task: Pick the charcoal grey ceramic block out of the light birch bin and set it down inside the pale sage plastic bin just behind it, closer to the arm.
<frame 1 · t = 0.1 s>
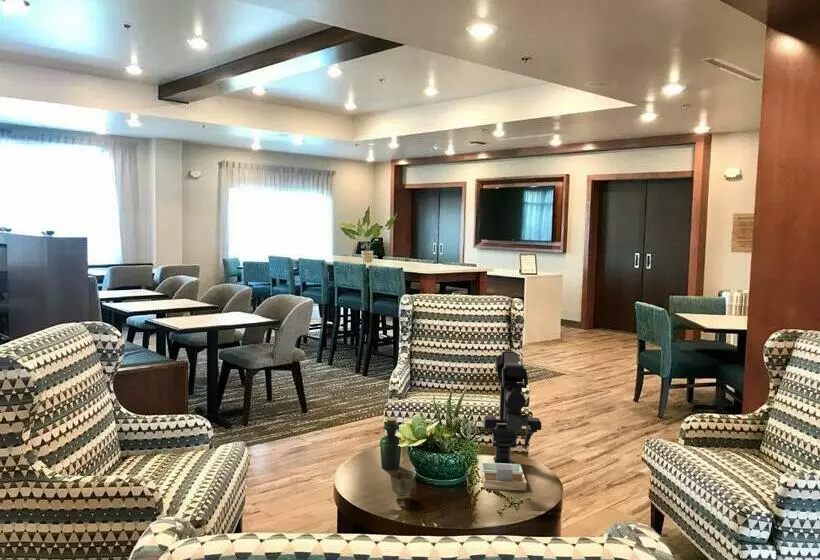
hand: (511, 448, 213), 14 cm above the table, tool pointing down, fingers open, 9 cm apart
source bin: (503, 487, 216), on the table
cup: (401, 499, 205), on the table
stone block: (503, 484, 216), point 1 cm above the table, touching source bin
beer can: (428, 466, 235), on the table
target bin: (501, 477, 226), on the table
potion bottle: (390, 467, 233), on the table
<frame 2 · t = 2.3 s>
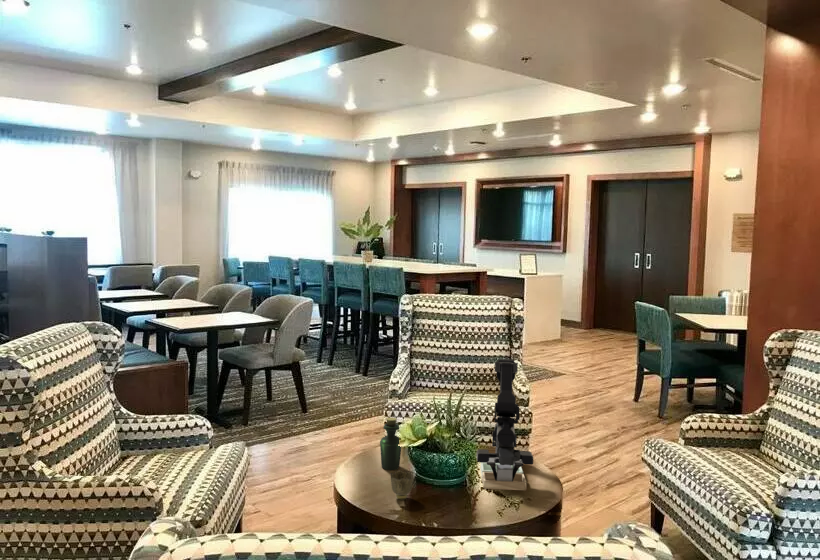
hand: (503, 481, 216), 2 cm above the table, tool pointing down, fingers closed on stone block, 5 cm apart
stone block: (503, 484, 216), point 1 cm above the table, touching gripper, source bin
everything else where it was.
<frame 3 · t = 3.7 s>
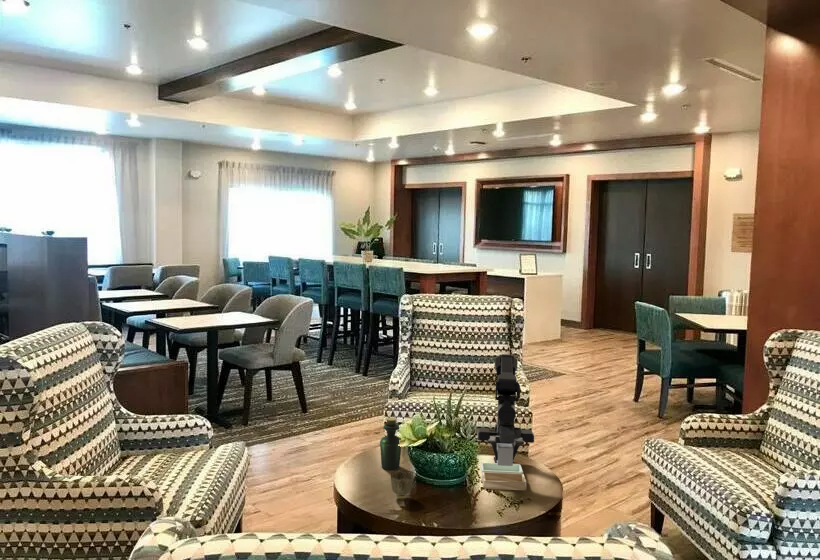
hand: (504, 460, 215), 9 cm above the table, tool pointing down, fingers closed on stone block, 5 cm apart
stone block: (504, 463, 215), point 8 cm above the table, touching gripper
everything else where it was.
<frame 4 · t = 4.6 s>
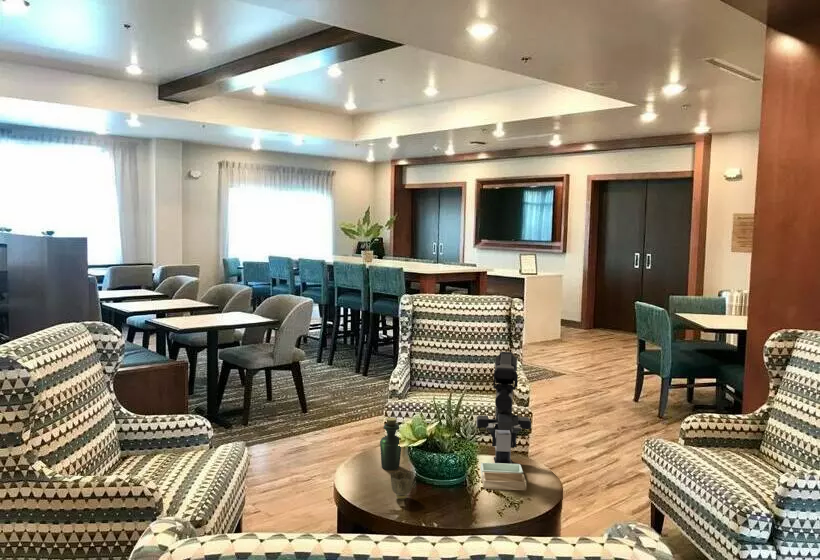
hand: (502, 446, 224), 12 cm above the table, tool pointing down, fingers closed on stone block, 5 cm apart
stone block: (502, 448, 224), point 11 cm above the table, touching gripper
everything else where it was.
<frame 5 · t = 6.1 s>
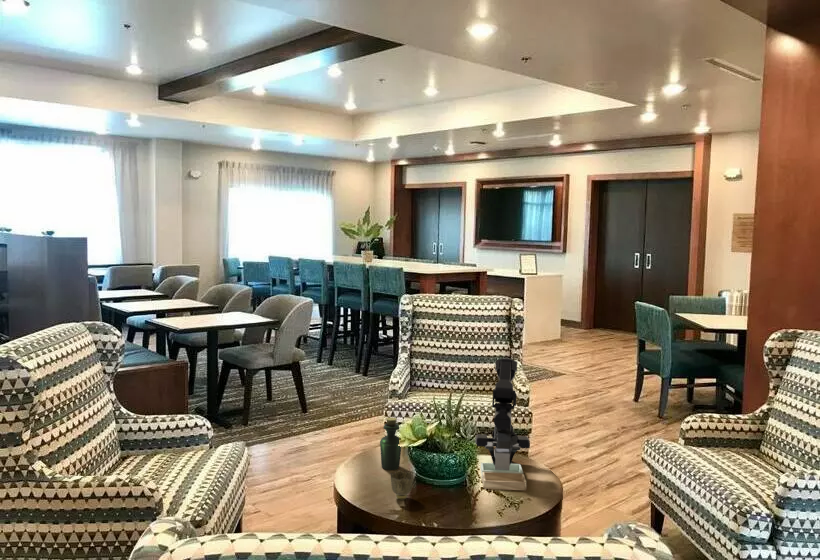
hand: (501, 464, 225), 4 cm above the table, tool pointing down, fingers closed on stone block, 5 cm apart
stone block: (501, 467, 225), point 3 cm above the table, touching gripper
everything else where it was.
when the fingers open (3 cm above the table, at t = 7.1 s): stone block drops 1 cm, resting on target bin.
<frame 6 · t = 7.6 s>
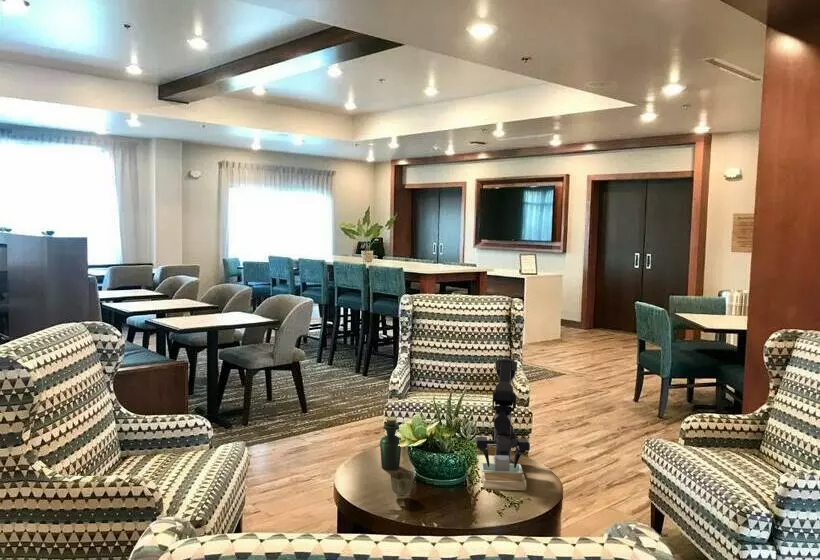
hand: (501, 467, 225), 3 cm above the table, tool pointing down, fingers open, 9 cm apart
stone block: (501, 474, 226), point 1 cm above the table, touching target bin
everything else where it was.
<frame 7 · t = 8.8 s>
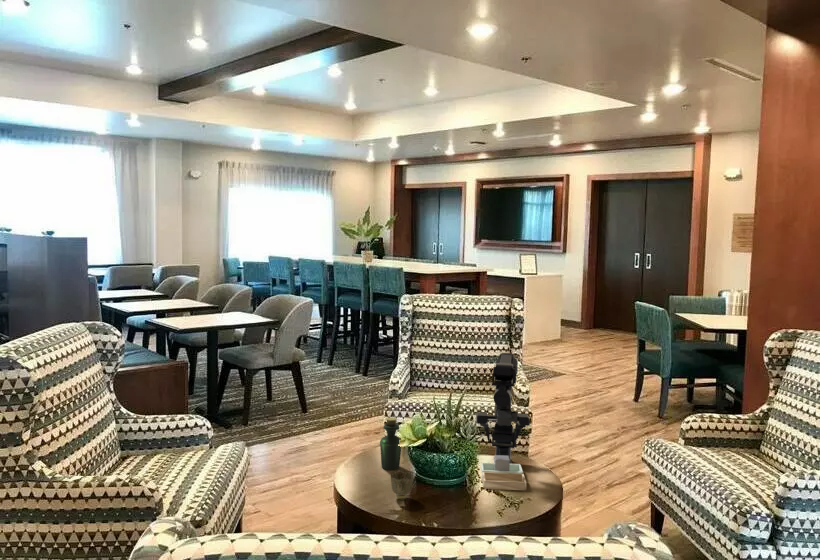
hand: (501, 442, 227), 12 cm above the table, tool pointing down, fingers open, 9 cm apart
nothing on the table moved.
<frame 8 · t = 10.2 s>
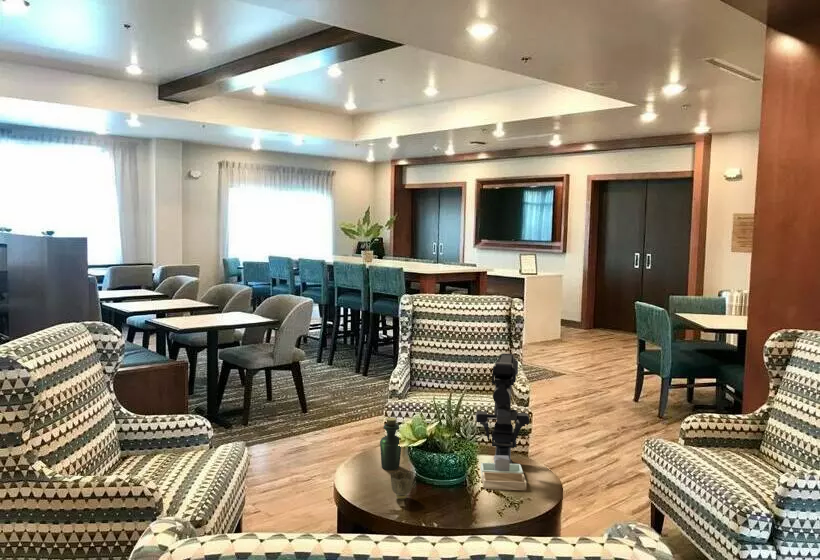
hand: (501, 441, 228), 12 cm above the table, tool pointing down, fingers open, 9 cm apart
nothing on the table moved.
at the end: stone block inside the target area on the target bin (0.0 cm from its centre), point 1.0 cm above the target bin's base; the gripper is holding nothing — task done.
